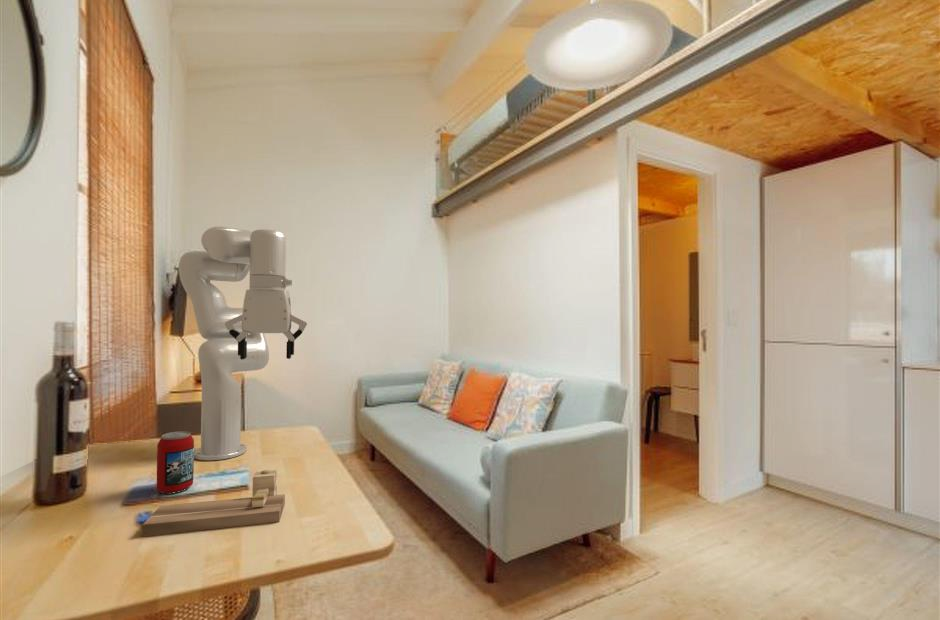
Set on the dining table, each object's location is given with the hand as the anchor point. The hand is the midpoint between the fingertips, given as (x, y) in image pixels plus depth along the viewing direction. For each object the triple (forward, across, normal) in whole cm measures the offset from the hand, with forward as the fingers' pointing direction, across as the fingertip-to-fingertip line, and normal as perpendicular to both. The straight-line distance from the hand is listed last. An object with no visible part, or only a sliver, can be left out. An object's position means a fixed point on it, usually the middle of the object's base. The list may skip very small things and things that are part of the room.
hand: (266, 358), depth 103 cm
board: (+28, +5, +18) cm, 34 cm away
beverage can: (+28, +18, 0) cm, 34 cm away
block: (+28, -2, +15) cm, 32 cm away
